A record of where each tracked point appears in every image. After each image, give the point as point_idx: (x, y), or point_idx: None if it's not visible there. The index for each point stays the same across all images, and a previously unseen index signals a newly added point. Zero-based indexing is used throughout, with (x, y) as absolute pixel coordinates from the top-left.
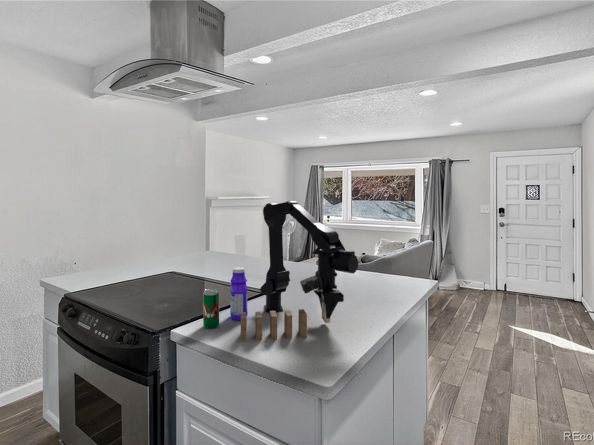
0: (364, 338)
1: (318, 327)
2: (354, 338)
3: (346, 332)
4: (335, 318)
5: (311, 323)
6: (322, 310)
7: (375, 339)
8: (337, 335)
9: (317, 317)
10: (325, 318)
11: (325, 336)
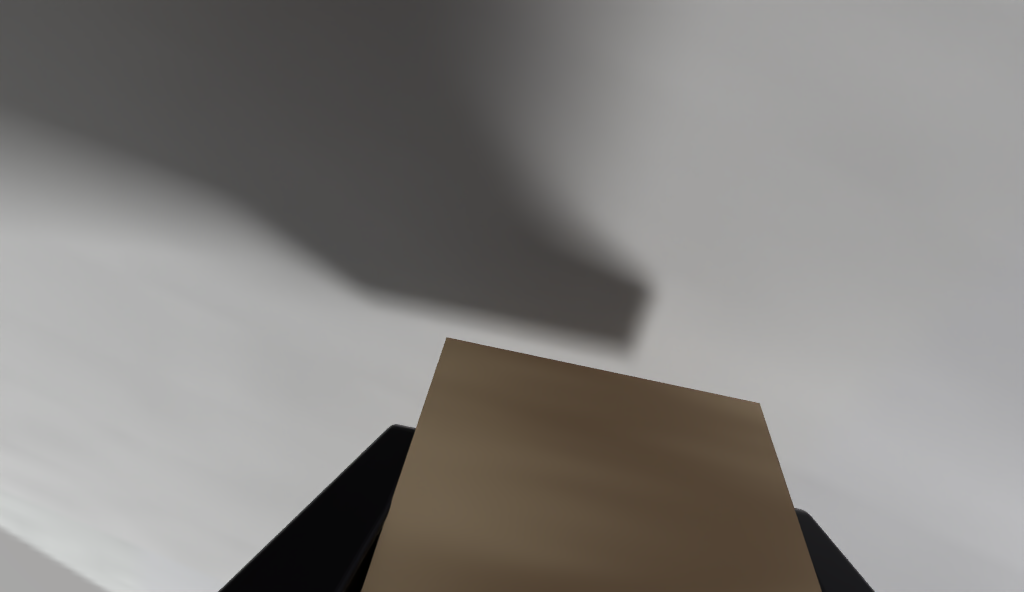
0: (60, 494)
1: (543, 186)
2: (50, 421)
3: (244, 437)
4: None
5: (819, 151)
6: (731, 554)
7: (44, 548)
8: (142, 300)
9: (1019, 391)
10: (432, 404)
11: (93, 109)
